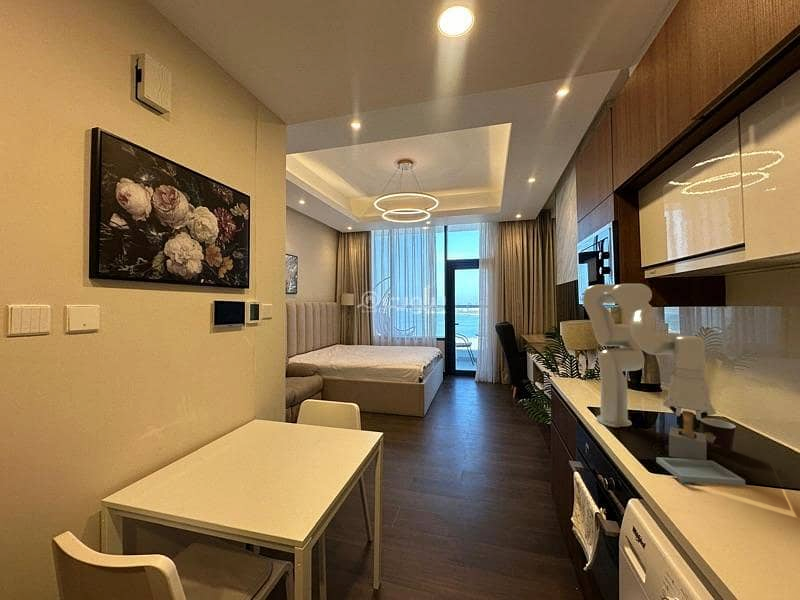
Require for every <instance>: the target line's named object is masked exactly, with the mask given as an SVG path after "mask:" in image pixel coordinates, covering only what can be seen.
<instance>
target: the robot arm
mask: <svg viewBox="0 0 800 600" xmlns="http://www.w3.org/2000/svg"><path fill="white" fill-rule="evenodd" d="M652 297H653V292H652V290H651V288H650V286H648V285H646V284H644V283H620V284H602V283H601V284H594V285H590V286H588V287H587V288H586V289H585V290H584V291H583V295H582V303H583V306H584V309H585V311H586V313H587V315H588V317H589V320H590V323H591V324H590V325H591V327H592V330H593V334H594V337H595V339H596V342H597V344H599V346H603V347H616V348H605V349H603V350H602V351H600V352H599V354H598V356H597V359H598V360H597V361H598V366H599V371H600V408H599V412H600V414H599V415H597V416H596V421H597V422H598V423H600V424H602V425H604V426H607V427H611V428H616V429H617V428H618V429H619V428H620V427H629V426H632V424H633V423H632V421H631V420H629V419H628V380H627V378H626V376H625V375H624V373H623V372H630V371H631V372H633V371H634V372H635V371H639V370H642V369H643V367H644V366H645V361H646V360H645V355H644V353H643V352H645V353H646V354H648V355H652V356H653V355H654V356H656V355H657V356H659V355H666V356H667V355H668V356H669V355H673V367H668V373H672V374H671V376H670V379H669V383H668V396H667V397H666V398H665V400H664V401H663V402H662V405H663V406H664V407H666V408H668V409H670V410H671V411H672V412H673V413H674V415H675V416H676V425H677V426H678V427H679V428H678V429H682V412H681V411H682V409H684V410H689V411H694V412H695V415H694V432H697V431H698V430H701V423H700V421H701V419H705V418H707V416H708V417H709V416H714V415H717V411H716V410H715V408H714V406H713V405H712V403H711V398H710V397H711V395H710V386H709V382H708V379H705V356H706V355H705V353H706V352H705V351H706V348H705V347H706V343H705V340H704V339H703V338H702V337H701V336H695V335H694V336H692V335H683V334H680V333H674V332H665V333H664V332H658V333H657V332H652V331H651V329H650V328H649V327H648V326H647V325H646V323H645V322H646V321H648V320H649V319H651V317H652V316H653V315H654V312H655V309H654V307H653V306H652V305H651V304H650V303H649V302H650V301H651V300H652ZM604 304H616V305H617V306H618V307H619V308H620V309H621V310H622V311H623V313H624V314H625V316H627V318H629V324H624V323H623V324H622V323H621V324H616V323H615V320H614V319H613V315H612V313H611V312H610V311H609V309H608V308H607V307H606V306H605V305H604ZM617 347H619V348H617Z"/></svg>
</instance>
